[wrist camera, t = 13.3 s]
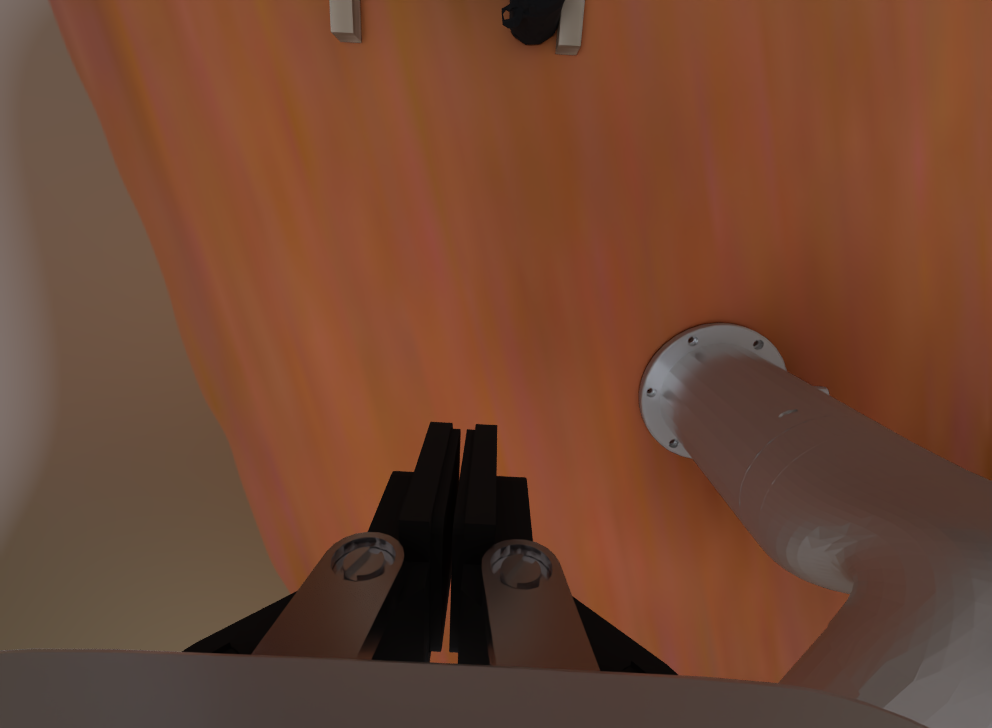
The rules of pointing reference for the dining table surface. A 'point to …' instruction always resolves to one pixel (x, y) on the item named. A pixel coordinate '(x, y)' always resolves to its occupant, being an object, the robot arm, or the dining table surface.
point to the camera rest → (568, 29)
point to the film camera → (533, 19)
